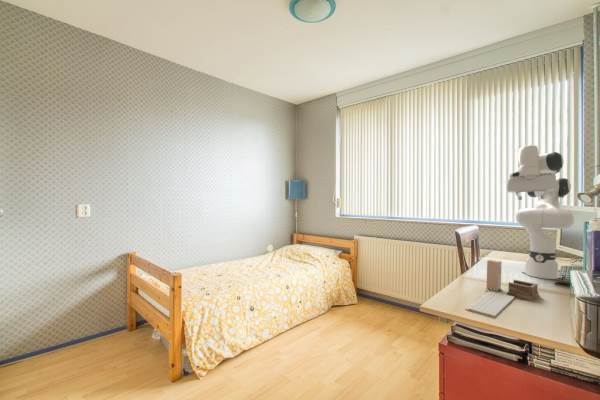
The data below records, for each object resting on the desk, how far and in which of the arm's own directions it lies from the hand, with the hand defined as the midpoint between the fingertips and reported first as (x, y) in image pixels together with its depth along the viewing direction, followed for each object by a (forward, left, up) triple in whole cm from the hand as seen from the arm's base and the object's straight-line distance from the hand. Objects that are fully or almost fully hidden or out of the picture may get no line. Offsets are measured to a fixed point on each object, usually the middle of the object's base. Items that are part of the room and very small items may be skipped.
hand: (531, 199), depth 155 cm
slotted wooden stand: (+25, +4, -45) cm, 51 cm away
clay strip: (+25, -8, -45) cm, 52 cm away
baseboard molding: (+49, -2, -45) cm, 67 cm away
